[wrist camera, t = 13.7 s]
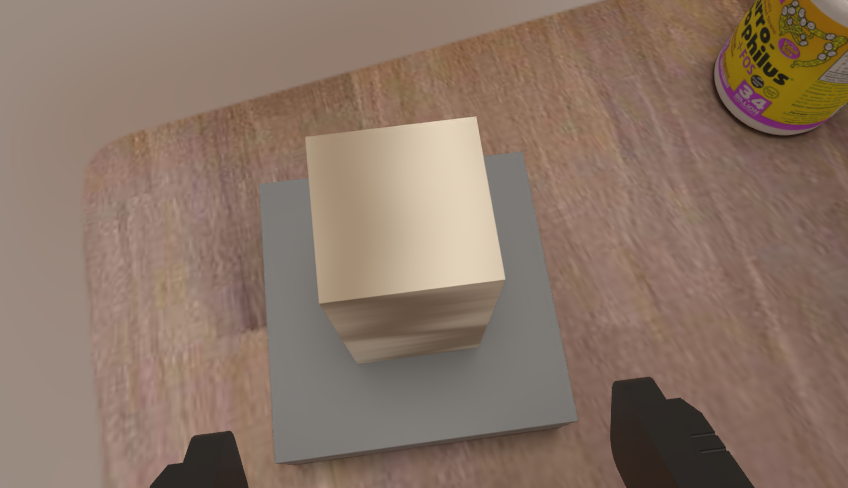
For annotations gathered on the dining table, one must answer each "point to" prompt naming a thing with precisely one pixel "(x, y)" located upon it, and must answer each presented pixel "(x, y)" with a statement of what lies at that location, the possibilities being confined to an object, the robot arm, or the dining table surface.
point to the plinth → (420, 375)
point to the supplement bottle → (786, 65)
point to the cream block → (404, 238)
